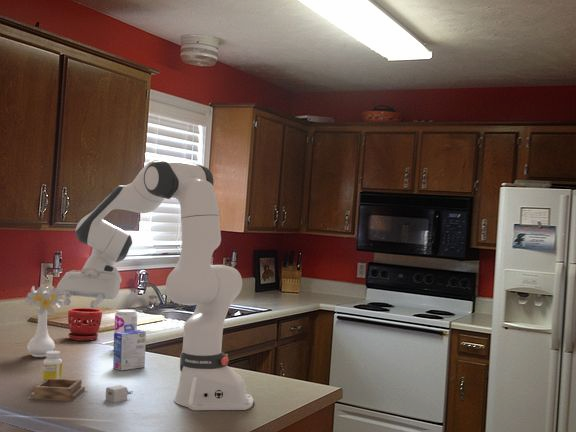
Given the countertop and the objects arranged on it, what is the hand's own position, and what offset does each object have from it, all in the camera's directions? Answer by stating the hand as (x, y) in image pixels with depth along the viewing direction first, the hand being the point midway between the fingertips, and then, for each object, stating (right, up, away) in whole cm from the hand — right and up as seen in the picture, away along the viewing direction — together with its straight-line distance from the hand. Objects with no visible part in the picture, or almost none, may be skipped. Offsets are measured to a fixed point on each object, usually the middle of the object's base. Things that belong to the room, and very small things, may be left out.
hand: (79, 305), depth 220 cm
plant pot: (-16, -21, +59) cm, 65 cm away
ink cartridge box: (+13, -23, +14) cm, 30 cm away
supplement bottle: (-5, -22, -12) cm, 26 cm away
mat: (+1, -22, -24) cm, 33 cm away
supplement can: (+5, -22, +41) cm, 47 cm away
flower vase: (-21, -21, +25) cm, 39 cm away
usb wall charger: (+19, -24, -26) cm, 40 cm away
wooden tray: (+1, -22, -24) cm, 33 cm away
